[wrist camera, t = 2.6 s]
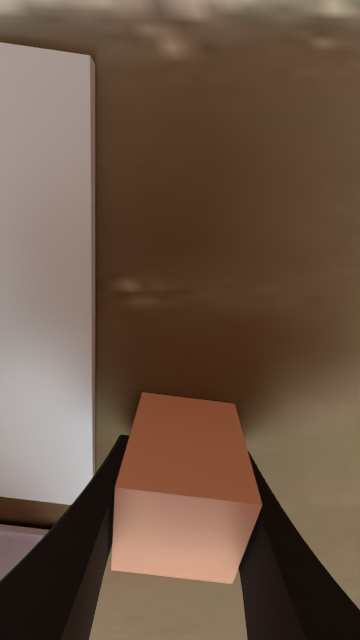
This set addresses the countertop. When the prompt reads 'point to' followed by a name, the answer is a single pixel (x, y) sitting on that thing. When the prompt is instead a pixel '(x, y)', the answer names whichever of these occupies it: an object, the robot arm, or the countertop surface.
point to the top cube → (184, 491)
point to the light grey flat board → (47, 273)
